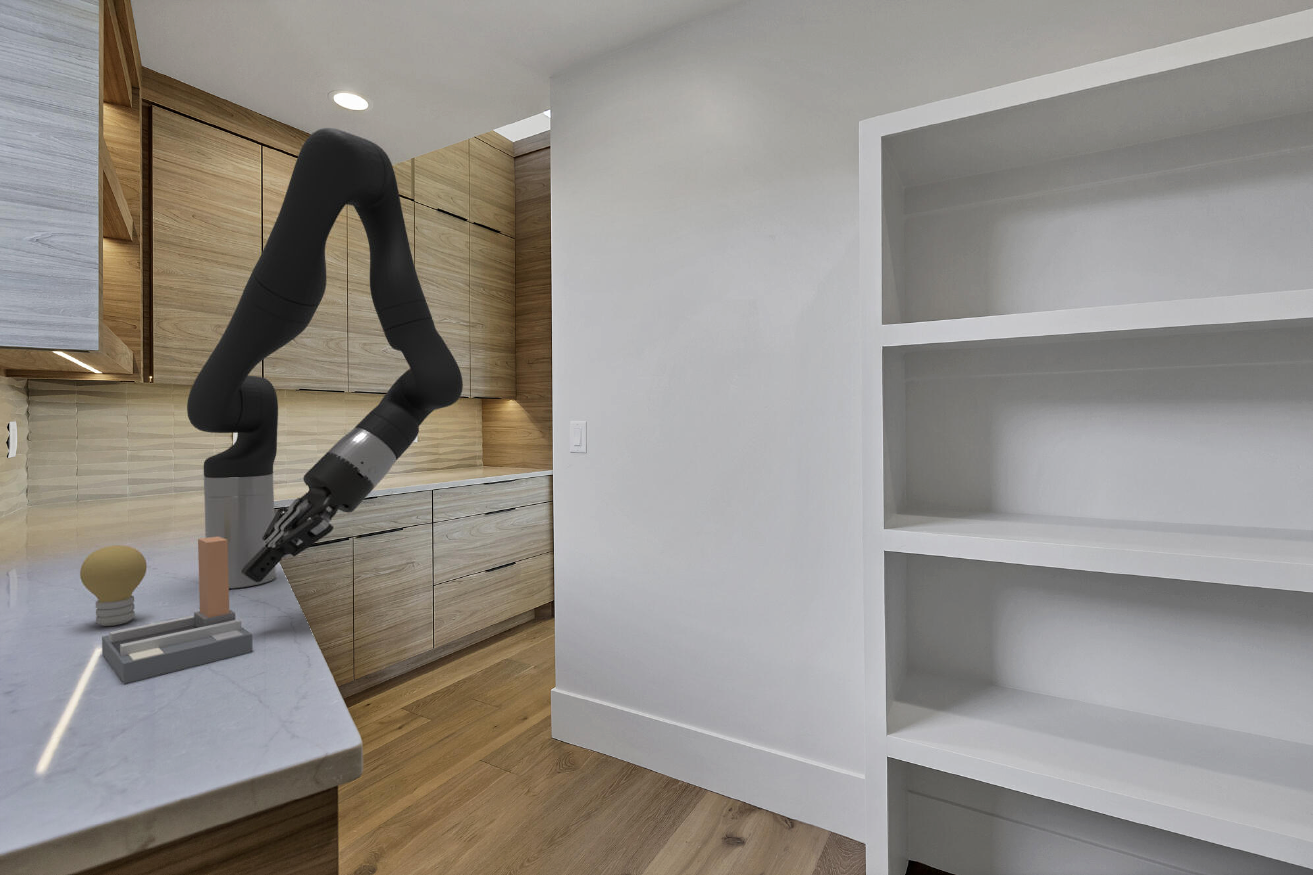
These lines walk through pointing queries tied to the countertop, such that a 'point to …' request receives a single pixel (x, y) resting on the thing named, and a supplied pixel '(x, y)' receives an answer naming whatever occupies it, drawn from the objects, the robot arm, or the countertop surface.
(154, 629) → the switch panel
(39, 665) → the countertop surface
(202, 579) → the lever
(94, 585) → the light bulb
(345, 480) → the robot arm
